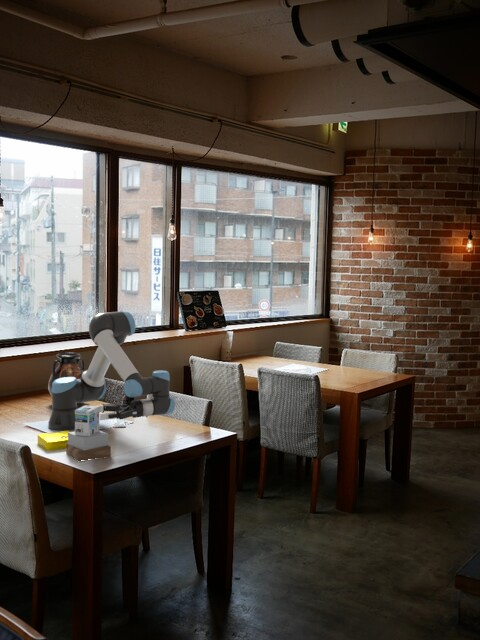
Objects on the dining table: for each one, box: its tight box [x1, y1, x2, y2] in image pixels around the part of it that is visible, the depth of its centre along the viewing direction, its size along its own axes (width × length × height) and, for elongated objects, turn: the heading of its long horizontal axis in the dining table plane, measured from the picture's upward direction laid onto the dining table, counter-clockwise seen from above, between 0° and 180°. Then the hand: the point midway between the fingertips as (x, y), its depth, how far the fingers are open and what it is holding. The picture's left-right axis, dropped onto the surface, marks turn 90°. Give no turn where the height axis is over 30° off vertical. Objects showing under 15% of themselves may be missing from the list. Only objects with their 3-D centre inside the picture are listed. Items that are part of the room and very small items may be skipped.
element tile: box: [37, 430, 71, 452], centre depth 319 cm, size 15×15×5 cm
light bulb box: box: [74, 404, 101, 437], centre depth 303 cm, size 11×7×11 cm, turn 167°
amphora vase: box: [47, 352, 85, 407], centre depth 396 cm, size 22×22×28 cm
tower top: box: [68, 430, 109, 450], centre depth 304 cm, size 12×12×5 cm
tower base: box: [66, 443, 112, 462], centre depth 304 cm, size 14×14×5 cm
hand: (94, 413), depth 304 cm, fingers open, 13 cm apart
